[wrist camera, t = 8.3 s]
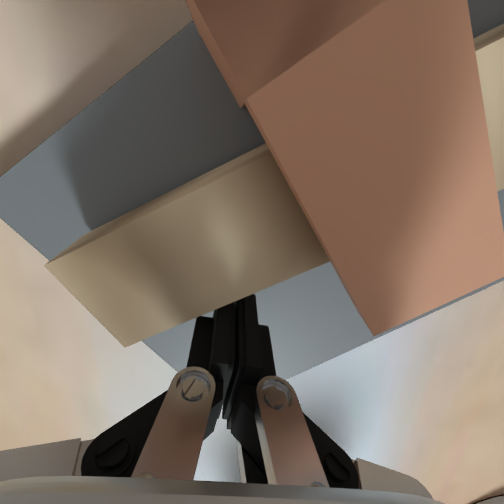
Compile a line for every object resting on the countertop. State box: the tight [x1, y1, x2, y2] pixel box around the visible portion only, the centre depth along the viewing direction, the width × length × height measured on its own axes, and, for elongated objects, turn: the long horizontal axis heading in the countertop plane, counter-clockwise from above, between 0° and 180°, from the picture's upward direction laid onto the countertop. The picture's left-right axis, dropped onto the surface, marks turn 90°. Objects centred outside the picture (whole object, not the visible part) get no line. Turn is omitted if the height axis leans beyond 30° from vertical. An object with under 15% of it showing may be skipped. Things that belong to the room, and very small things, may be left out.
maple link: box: [44, 23, 504, 347], centre depth 8 cm, size 18×4×4 cm, turn 115°
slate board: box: [0, 0, 504, 408], centre depth 11 cm, size 22×16×1 cm
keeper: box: [186, 0, 504, 336], centre depth 8 cm, size 4×10×5 cm, turn 32°
